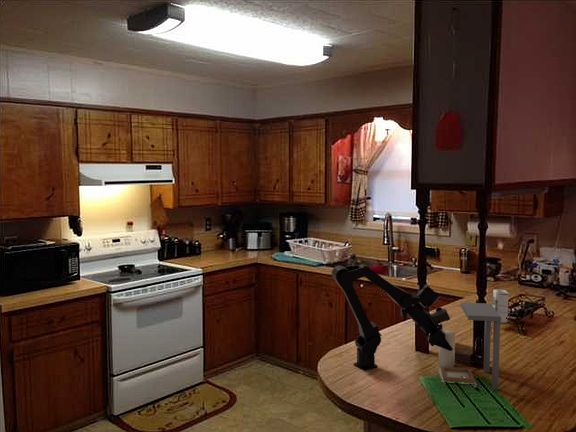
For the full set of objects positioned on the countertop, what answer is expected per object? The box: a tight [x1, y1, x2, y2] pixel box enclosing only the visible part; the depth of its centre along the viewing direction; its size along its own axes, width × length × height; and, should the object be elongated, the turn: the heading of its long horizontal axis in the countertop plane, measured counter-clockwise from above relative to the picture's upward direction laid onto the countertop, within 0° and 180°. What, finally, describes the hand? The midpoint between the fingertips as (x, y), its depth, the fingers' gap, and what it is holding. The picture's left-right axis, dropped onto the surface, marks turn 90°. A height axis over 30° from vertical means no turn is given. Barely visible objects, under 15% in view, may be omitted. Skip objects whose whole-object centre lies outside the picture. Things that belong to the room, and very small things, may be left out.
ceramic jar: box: [438, 329, 456, 367], centre depth 188 cm, size 6×6×12 cm
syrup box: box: [492, 289, 509, 324], centre depth 240 cm, size 6×6×14 cm
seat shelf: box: [438, 302, 501, 391], centre depth 175 cm, size 18×16×24 cm
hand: (450, 347), depth 188 cm, fingers closed on ceramic jar, 6 cm apart
